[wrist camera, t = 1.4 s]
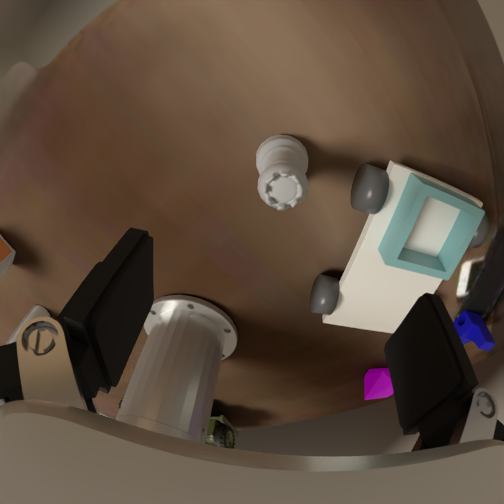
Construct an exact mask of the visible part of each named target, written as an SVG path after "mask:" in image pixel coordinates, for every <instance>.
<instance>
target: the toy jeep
mask: <svg viewBox="0 0 504 504" xmlns="http://www.w3.org/2000/svg"><path fill="white" fill-rule="evenodd" d="M123 398H124V397H123ZM123 398H122V399H123ZM120 402H121V403H122V400H121V401H120ZM121 403H119V405H120V406H121ZM120 406H119V408H120ZM235 436H236V437H238V431H237V430H236V429H235V428H234V427H233V425H232V424H231V423H230V422H229V421H228V420H227V419H226V418H225V417H224V416H223V415H220V417H210V421H209V426H208V431H207V436H206V442H205V444H208V445H213V446H219V447H224V448H230V449H233V448H234V445H235V443H234V441H235V439H234V437H235Z"/></svg>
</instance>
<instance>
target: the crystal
mask: <svg viewBox="0 0 504 504" xmlns="http://www.w3.org/2000/svg"><path fill="white" fill-rule="evenodd" d="M364 382H365V400H369V399H378V398H386V397H389V396H390V395H392V394H393V393H394V391H393V387H392V382H391V377H390V373H389V369H388V368H375V369H369V370H368V371H367V373H366V374H365V377H364Z"/></svg>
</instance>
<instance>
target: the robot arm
mask: <svg viewBox="0 0 504 504" xmlns="http://www.w3.org/2000/svg"><path fill="white" fill-rule="evenodd" d="M153 300H154V290H153V237H150V236H149V234H148V232H147V231H144V230H140V229H136V228H130V229H129V230H128V231H127V232H126V233H125V234H124V236H123V237H122V238H121V239H120V240H119V242H118V243H117V244H116V245H115V247H114V248H113V249H112V250H111V252H110V253H109V254H108V255H107V257H106V258H105V259H104V260H103V262H98V263H97V264H96V265H95V266H94V268H93V269H92V270H91V272H90V273H89V274H88V276H87V277H86V278H85V280H84V281H83V282H82V284H81V285H80V286H79V288H78V289H77V290H76V292H75V293H74V294H73V296H72V297H71V299H70V300H69V301H68V303H67V304H66V306H65V307H64V309H63V310H62V311H61V313H60V314H59V316H58V317H57V319H56V320H54V319H52V318H50V317H36V318H34V319H31V320H29V321H28V322H27V323H25V324H24V325H23V326H22V328H21V329H20V331H19V333H18V335H17V341H16V342H13V343H10V344H6V345H3V346H0V504H504V425H503V424H502V423H501V422H500V421H499V420H497V415H498V405H497V402H496V400H495V398H494V396H493V395H492V394H491V393H490V392H489V391H488V390H486V389H483V388H480V389H477V390H476V391H475V392H474V393H473V392H472V389H473V388H474V387H475V386H476V385H478V381H477V378H476V375H475V373H474V370H473V368H472V365H471V363H470V360H469V358H468V355H467V353H466V351H465V348H464V346H463V344H462V341H461V339H460V337H459V335H458V332H457V330H456V328H455V326H454V324H453V322H452V320H451V318H450V316H449V313H448V311H447V309H446V307H445V305H444V304H443V302H442V300H441V298H440V296H438V295H435V294H430V293H425V294H423V295H422V296H420V297H419V298H418V299H417V301H416V302H415V304H414V305H413V307H412V308H411V309H410V311H409V312H408V314H407V315H406V317H405V318H404V319H403V321H402V322H401V324H400V325H399V326H398V328H397V329H396V331H395V332H394V333H393V335H392V336H391V337H390V339H389V340H388V341H387V343H386V345H385V348H384V352H385V356H386V360H387V364H388V369H389V373H390V377H391V382H392V387H393V391H394V396H395V401H396V406H397V412H398V417H399V422H400V426H401V427H402V428H403V433H404V435H411V434H416V433H417V432H419V433H420V436H419V438H418V440H417V441H416V443H415V445H414V447H413V449H412V451H411V452H404V453H396V454H386V455H372V456H353V457H352V456H351V457H315V456H314V457H311V456H293V455H279V454H269V453H259V452H251V451H243V450H237V449H230V448H224V447H219V446H213V445H208V444H205V442H206V436H207V431H208V426H209V421H210V415H211V410H212V405H213V400H214V395H215V390H216V384H217V379H218V374H219V369H220V364H221V360H223V359H225V358H227V357H228V356H230V355H231V354H232V353H233V351H234V350H235V348H236V345H237V339H238V334H237V329H236V326H235V325H234V323H233V321H232V320H231V319H230V317H229V316H228V315H227V314H226V313H225V312H223V311H222V310H221V309H220V308H218V307H217V306H215V305H213V304H211V303H209V302H207V301H205V300H202V299H199V298H196V297H192V296H186V295H169V296H164V297H161V298H159V299H156V300H155V301H154V302H153ZM143 325H144V328H145V331H146V333H147V334H148V338H147V341H146V343H145V345H144V348H143V350H142V353H141V355H140V357H139V360H138V362H137V365H136V367H135V370H134V372H133V375H132V377H131V380H130V382H129V385H128V387H127V390H126V393H125V395H124V398H123V400H122V403H121V406H120V408H119V411H118V414H117V417H116V419H112V418H108V417H105V416H102V415H99V413H98V410H97V407H96V405H95V402H94V399H93V398H95V397H96V395H97V393H98V390H100V391H102V392H105V393H109V391H110V388H111V386H113V387H116V386H117V384H118V382H119V380H120V378H121V375H122V373H123V370H124V368H125V366H126V363H127V361H128V359H129V356H130V354H131V352H132V350H133V347H134V345H135V343H136V341H137V338H138V336H139V334H140V332H141V330H142V327H143Z"/></svg>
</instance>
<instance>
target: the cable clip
mask: <svg viewBox="0 0 504 504" xmlns="http://www.w3.org/2000/svg"><path fill="white" fill-rule="evenodd" d="M453 324H454V326H455V328H456V330H457V332H458V335H459V337H460V339H461V341H462V344H463V345H464V344H465V343H467V342H470V341H473V342H474V343H475V344H476V345H477V346H478V348H479V349H482V350H486V351H489V350H490V349H491V348H492V347H493V346H494V345H495V342H494V340H493V338H492V336H491V334H490V332H489V330H488V328H487V326H486V324H485V322H484V321H483V319H482V317H481V315H478V314H476V313H473V312H470V311H468V310H464V311H463V312H462V314H461V315H460V316H459V317H458V318H457V319H456V320H455V322H454V323H453Z"/></svg>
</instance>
